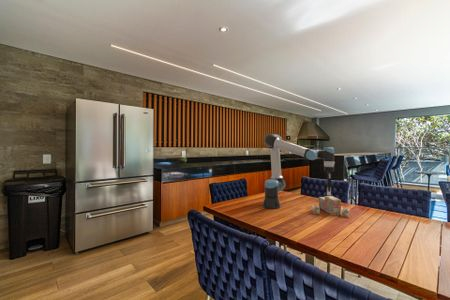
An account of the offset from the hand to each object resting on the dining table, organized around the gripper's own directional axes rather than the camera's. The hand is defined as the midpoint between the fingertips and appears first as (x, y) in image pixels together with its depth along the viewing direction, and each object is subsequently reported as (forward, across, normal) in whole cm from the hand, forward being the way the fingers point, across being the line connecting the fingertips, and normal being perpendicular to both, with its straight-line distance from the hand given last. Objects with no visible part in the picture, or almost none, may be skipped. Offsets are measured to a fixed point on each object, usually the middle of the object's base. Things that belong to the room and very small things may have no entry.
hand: (328, 195), depth 175 cm
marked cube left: (+14, -7, +10) cm, 18 cm away
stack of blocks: (+14, +1, 0) cm, 14 cm away
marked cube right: (+14, -7, -11) cm, 19 cm away
